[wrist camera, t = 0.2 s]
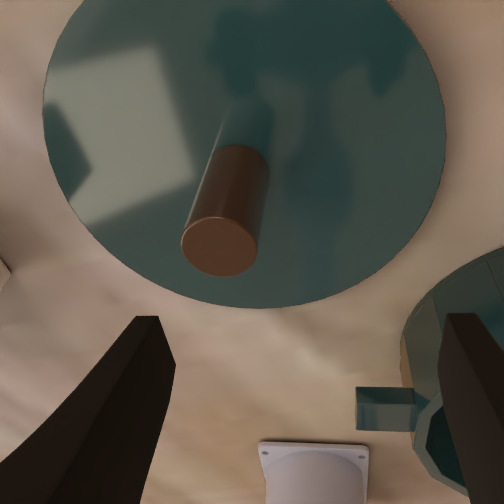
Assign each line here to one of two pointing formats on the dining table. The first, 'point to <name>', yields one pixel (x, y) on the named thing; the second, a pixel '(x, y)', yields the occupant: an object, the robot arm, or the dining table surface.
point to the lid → (245, 141)
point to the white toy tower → (3, 275)
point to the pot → (434, 366)
